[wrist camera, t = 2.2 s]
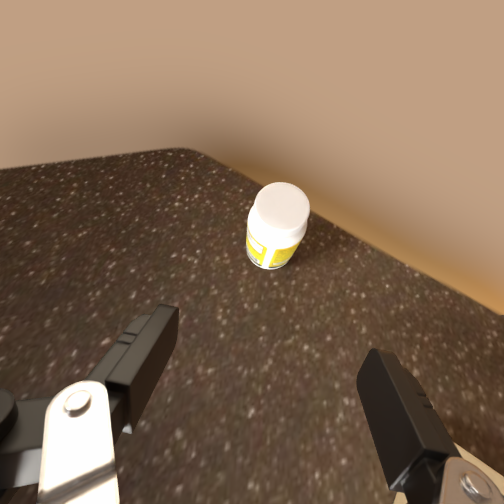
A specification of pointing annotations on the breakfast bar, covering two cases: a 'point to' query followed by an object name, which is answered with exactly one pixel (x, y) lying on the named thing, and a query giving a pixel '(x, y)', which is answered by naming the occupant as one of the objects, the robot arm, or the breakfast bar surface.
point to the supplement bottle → (276, 224)
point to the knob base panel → (498, 479)
